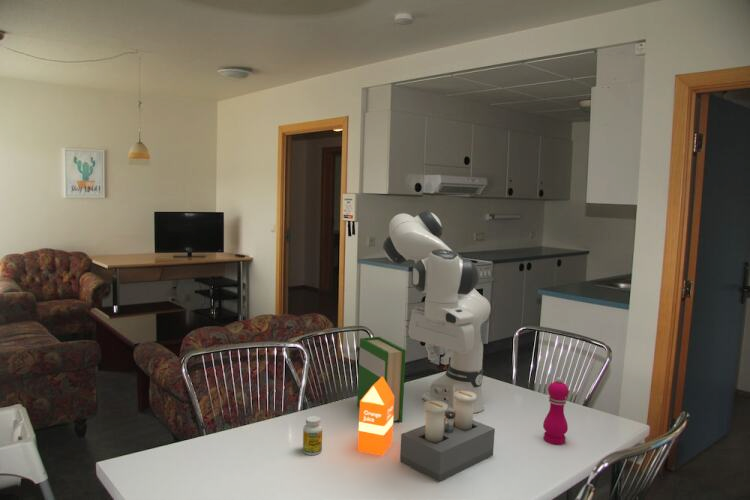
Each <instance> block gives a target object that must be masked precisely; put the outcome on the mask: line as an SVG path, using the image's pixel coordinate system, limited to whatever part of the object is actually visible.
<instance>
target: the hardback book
mask: <svg viewBox="0 0 750 500" xmlns="http://www.w3.org/2000/svg"><path fill="white" fill-rule="evenodd" d="M406 354H407V350H406V349H405V348H403V347H401V346H399V345H397V344H394V343H392V342H390V341H388V340H387V339H385V338H383V337H381V336H374V337H373V336H372V337H371V336H370V337H362V338H359V353H358V355H359V357H358V358H359V359H358V378H357V380H358V381H357V382H358V383H357V399H356V400H357V401H356V402H357V403H356V407H358V409H360V401H361V400H362V398H363V397H364V396H365V395H366V393H367V392H368V391H369V390H370V388H371V387H372V386H373V385H374V384H375V383H376V382H377V381H378V380H379V379H380V378H381V377H382V376H383V378H384V379H385V381H386V383H387V385H388V386H389V388H390V390H391V392H392V393H393V395H394V411H393V422H395V421H397V422H398V424H399V423H403V413H404V409H403V408H404V392H405V374H406V372H405V371H406Z"/></svg>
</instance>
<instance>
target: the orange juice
mask: <svg viewBox="0 0 750 500" xmlns="http://www.w3.org/2000/svg"><path fill="white" fill-rule="evenodd" d="M393 411H394V395H393V393H392V392H391V390H390V388H389V386H388V385H387V383H386V381H385V379H384V378H383V376H382V377H381V378H380V379H379V380H378V381H377V382H376V383H375V384H374V385H373V386H372V387H371V388H370V390H369V391H368V392H367V393H366V395H365V396H364V397H363V398H362V400H361V401H360V408H359V414H358V415H359V416H358V417H359V418H358V437H357V438H358V441H357V442H358V443H357V451H358V452H362V453H367V454H372V455H378V456H384V455H385V453H386V452H387V450H388V449H389V448H390V447H391V445H392V444H393V429H394V428H393V427H394V421H393Z"/></svg>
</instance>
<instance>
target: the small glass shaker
mask: <svg viewBox="0 0 750 500" xmlns="http://www.w3.org/2000/svg"><path fill="white" fill-rule="evenodd" d="M455 415H456V414H455V412H451V411H447V412H445V416H444V418H445V417H446V419H445V432H447V433H453V430H454V418H455Z"/></svg>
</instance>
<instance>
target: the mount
mask: <svg viewBox="0 0 750 500" xmlns="http://www.w3.org/2000/svg"><path fill="white" fill-rule="evenodd" d="M445 419H446V417H445V416H444V433H443V441H442V442H439V443H437V444H434V443H431V442H429V441H427V440H425V424H424V425H421V426H419V427H416V428H413V429H411V430H408V431H405V432H403V433H401V435H400V438H401V439H400V451H399V452H400V454H399V462H400V463H401V464H403V465H405V466H407V467H408V468H411V469H413V470H415V471H417V472H419V473H421V474H423V475H424V476H427V477H428V478H430V479H432V480H434V481H436V482H438V483H440V482H442V481H444V480H446V479H448V478H450V477H453V476H455V475H456V474H459V473H460V472H462V471H465V470H466V469H469V468H471V467H472V466H474V465H476V464H478V463H479V464H480V462H481V463H482V461H485V460H487V459H488V458H490V457H493V456H494V446H495V435H496V434H495V433H496V432H495V431H496V429H495V428H494V427H491V426H489V425H486V424H485V423H481V422H479V421H476V420H474V419H473V421H472V429H470V430H468V431H466V432H465V431H463V430H460V429H458V428H455V427H454V430H453V433H447V432H445ZM454 426H455V418H454Z"/></svg>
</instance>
